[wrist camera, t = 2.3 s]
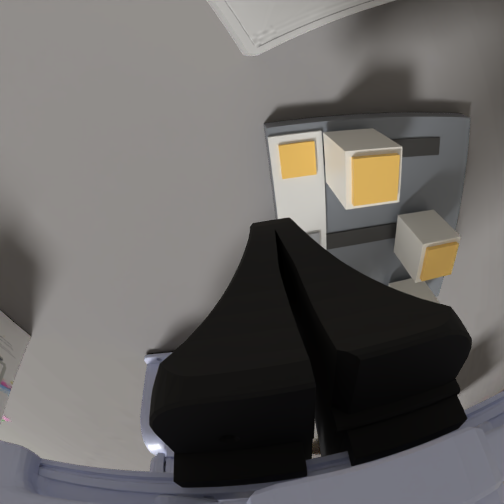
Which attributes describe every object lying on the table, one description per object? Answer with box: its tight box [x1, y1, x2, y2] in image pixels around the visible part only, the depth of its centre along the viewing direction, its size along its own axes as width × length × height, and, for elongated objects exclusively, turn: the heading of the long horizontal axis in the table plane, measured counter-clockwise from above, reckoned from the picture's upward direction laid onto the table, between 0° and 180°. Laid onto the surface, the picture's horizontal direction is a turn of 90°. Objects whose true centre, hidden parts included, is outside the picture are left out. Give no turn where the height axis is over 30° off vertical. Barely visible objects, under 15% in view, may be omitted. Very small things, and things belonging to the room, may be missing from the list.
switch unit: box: [264, 112, 470, 297], centre depth 21 cm, size 14×16×2 cm
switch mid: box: [394, 210, 461, 283], centre depth 19 cm, size 3×3×4 cm
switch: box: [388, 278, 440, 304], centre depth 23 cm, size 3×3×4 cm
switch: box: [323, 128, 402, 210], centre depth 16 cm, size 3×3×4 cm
